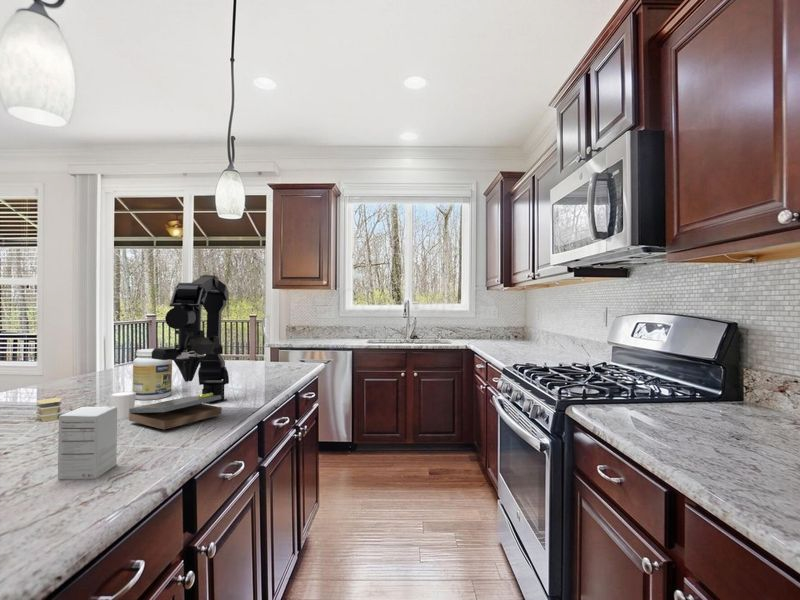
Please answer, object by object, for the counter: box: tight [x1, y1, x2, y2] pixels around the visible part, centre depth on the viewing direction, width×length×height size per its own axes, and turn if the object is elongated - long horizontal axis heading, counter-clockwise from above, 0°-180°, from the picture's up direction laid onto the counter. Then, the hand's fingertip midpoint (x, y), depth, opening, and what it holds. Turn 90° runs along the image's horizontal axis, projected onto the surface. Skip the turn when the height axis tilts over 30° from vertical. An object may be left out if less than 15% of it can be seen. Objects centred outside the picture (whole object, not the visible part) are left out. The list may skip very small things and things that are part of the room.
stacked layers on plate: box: [35, 397, 63, 422], centre depth 124 cm, size 10×9×6 cm
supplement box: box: [57, 406, 118, 480], centre depth 87 cm, size 7×7×13 cm
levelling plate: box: [129, 393, 221, 413], centre depth 124 cm, size 18×16×2 cm
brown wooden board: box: [128, 403, 223, 430], centre depth 124 cm, size 18×16×3 cm
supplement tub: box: [132, 348, 173, 401], centre depth 153 cm, size 12×12×17 cm
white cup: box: [108, 391, 136, 421], centre depth 127 cm, size 7×7×7 cm
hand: (188, 381), depth 122 cm, fingers closed
